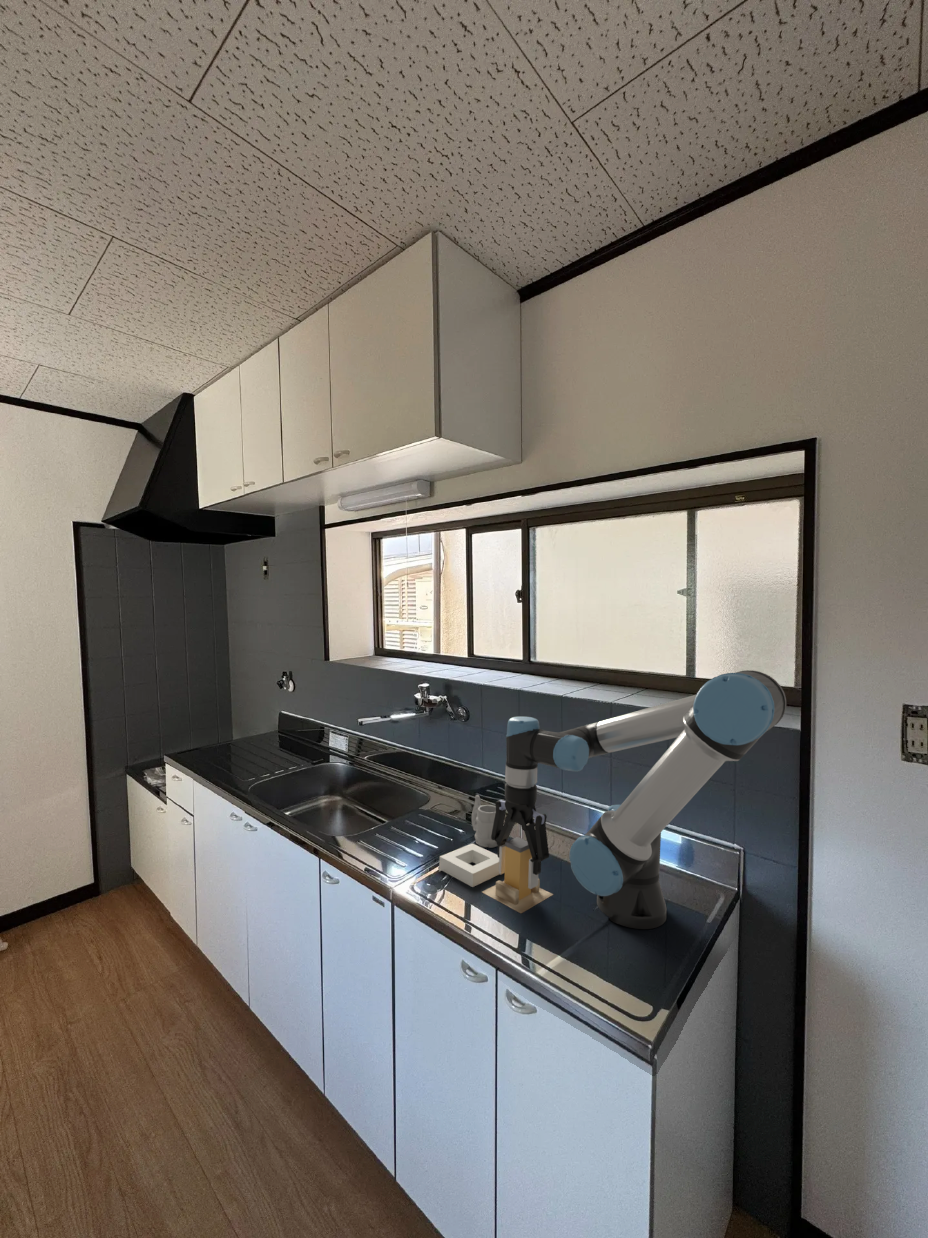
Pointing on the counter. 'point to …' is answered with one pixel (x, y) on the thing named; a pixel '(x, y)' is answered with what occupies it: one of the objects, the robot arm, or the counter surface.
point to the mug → (483, 823)
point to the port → (467, 873)
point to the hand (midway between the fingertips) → (517, 879)
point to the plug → (517, 865)
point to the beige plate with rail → (516, 896)
